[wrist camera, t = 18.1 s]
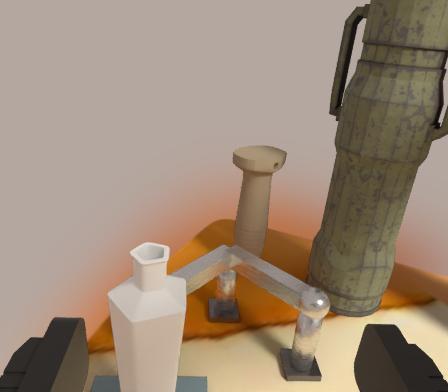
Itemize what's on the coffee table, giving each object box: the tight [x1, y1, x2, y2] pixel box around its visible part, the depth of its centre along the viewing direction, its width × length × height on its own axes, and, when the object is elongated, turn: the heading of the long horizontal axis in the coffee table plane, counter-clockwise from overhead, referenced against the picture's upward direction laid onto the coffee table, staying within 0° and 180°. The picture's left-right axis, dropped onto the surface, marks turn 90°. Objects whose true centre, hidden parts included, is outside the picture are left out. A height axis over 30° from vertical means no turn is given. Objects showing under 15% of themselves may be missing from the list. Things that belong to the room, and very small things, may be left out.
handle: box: [233, 146, 287, 258], centre depth 46 cm, size 5×6×15 cm
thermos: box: [306, 0, 448, 317], centre depth 38 cm, size 9×12×35 cm
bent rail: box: [170, 244, 330, 381], centre depth 35 cm, size 16×10×8 cm, turn 94°
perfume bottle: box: [107, 242, 186, 392], centre depth 23 cm, size 5×4×15 cm
